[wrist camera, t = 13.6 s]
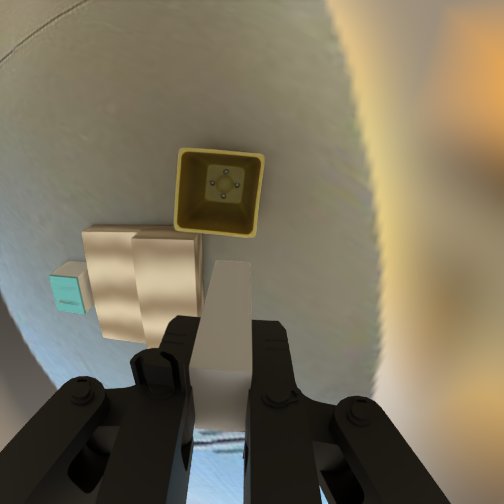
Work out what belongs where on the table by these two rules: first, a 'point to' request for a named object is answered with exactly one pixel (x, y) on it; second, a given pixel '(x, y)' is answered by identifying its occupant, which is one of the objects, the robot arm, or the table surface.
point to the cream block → (72, 287)
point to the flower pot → (218, 192)
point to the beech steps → (143, 278)
